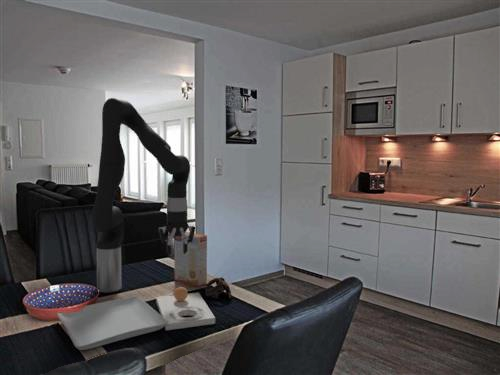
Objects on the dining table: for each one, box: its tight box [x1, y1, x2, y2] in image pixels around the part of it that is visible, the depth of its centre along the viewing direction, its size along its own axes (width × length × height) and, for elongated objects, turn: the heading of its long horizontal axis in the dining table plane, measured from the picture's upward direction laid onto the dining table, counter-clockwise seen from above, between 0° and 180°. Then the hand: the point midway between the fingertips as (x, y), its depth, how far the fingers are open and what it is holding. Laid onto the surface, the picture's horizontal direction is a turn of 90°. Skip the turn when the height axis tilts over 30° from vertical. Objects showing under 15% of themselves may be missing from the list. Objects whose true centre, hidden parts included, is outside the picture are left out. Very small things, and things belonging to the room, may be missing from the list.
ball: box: [173, 286, 189, 301], centre depth 144 cm, size 5×5×5 cm
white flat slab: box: [155, 292, 216, 331], centre depth 139 cm, size 16×24×2 cm, turn 20°
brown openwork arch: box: [204, 276, 232, 299], centre depth 155 cm, size 12×10×8 cm
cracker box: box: [173, 231, 208, 287], centre depth 170 cm, size 14×6×21 cm, turn 54°
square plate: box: [56, 295, 168, 351], centre depth 127 cm, size 27×27×4 cm
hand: (177, 253), depth 150 cm, fingers open, 5 cm apart
